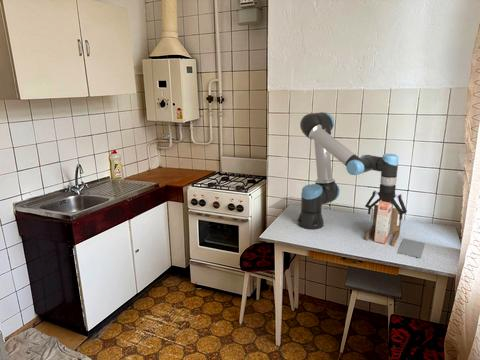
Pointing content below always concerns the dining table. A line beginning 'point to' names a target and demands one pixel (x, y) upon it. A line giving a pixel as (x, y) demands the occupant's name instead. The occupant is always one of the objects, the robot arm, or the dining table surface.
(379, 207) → the cracker box
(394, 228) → the brown wooden legged piece
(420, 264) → the dining table surface
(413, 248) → the mat
